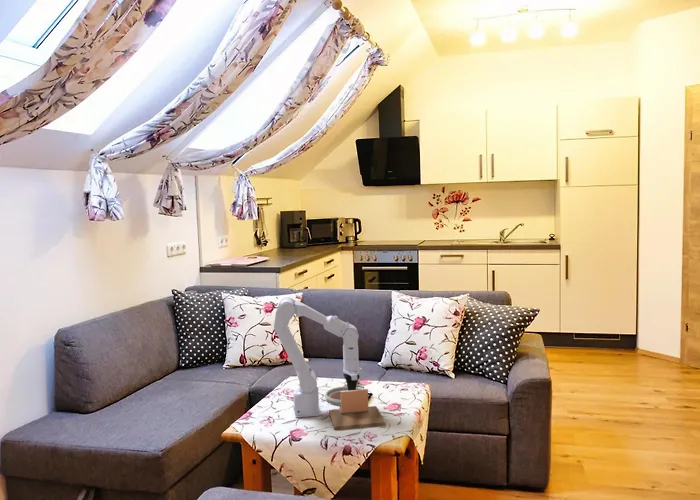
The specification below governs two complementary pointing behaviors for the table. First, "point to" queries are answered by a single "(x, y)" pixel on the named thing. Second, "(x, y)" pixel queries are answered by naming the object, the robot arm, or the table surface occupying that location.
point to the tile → (354, 401)
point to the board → (356, 419)
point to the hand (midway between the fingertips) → (351, 393)
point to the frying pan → (338, 394)
